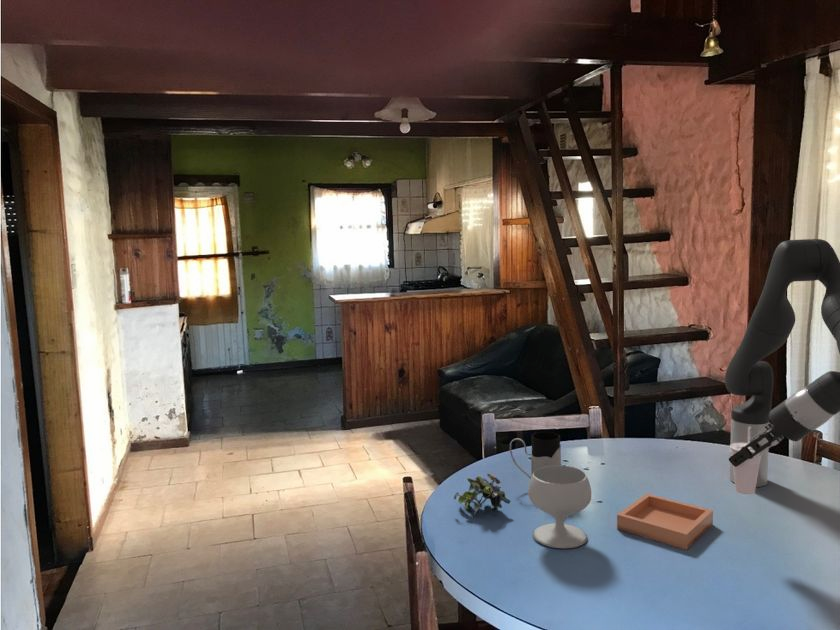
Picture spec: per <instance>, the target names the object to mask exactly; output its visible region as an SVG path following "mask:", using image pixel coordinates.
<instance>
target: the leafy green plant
mask: <svg viewBox="0 0 840 630" xmlns="http://www.w3.org/2000/svg"><path fill="white" fill-rule="evenodd" d="M487 477H488V478H489V479H490V480H491V482H489V481H488V480H487V479H486V478H484V477H481V476H476V477H475V478H474V479H473V478H470V477H469V476H467V477H466V479H467V482H469V488H468V490H467V491H465V492H464V493H463V494H461V495H460V493H459V492H456V493H455V494H454V496H453V500H457V496H458V503H459V504H463V503H464V504H465V511H466V512H467V511H468V509H469V506H470V505H471V503H473V509H474V512H473V515H472V517H475V515H476V513H477V512H478V510H480V508H482V506H483V504H484V503H485V502H486V501H487V500H488V499H489V501H490V503H491V506H492V507H493V508H494V509H496V508H500V509H501V508H502V504H501V502H502V501H503V502H504V503H505V504H507V505H508V504H510V503H511V500H510V499H508V498H507V497H506V492H505V491H504V490H501V488H502V487H501V486H498V485H499V484H502V481H500V479H498V478H497V476H494V475H493V474H490V473H487ZM494 483H496V484H497V485H494ZM472 490H473V491H472ZM479 494H482V496H481V498H480V499H479V500H478V497H477V496H479ZM483 498H484V499H483ZM482 499H483V500H482Z"/></svg>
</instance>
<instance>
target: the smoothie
mask: <svg viewBox="0 0 840 630" xmlns="http://www.w3.org/2000/svg"><path fill="white" fill-rule="evenodd" d="M750 439H751V427H748V443H750V441H749V440H750ZM748 443H733V444H731V443H730V444H729V452H730V451H731V454H732V455H734V454H735V453H737V452H738V451H740V450H741V449H742V447H743V446H746V445H747V444H748ZM748 449H749V450H750V451H751V452H752V453H754V452H755V451H754V450H753V448H752V447H748ZM762 454H763V453H758V454H757V455H755V456H754V457H753V458H752V459H747V460H746V461H744V462H743V463H741V464H740V465H739V466H737V467H734V466H733V471H734V480H735V483H734V487H735V491H736V493H740V494H742V495H754V494H755V493H756V490H757V489H756V488H757V487H756V483H757V477H758V471H759V465H760V460H761V455H762Z"/></svg>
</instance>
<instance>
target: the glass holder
mask: <svg viewBox="0 0 840 630" xmlns="http://www.w3.org/2000/svg"><path fill="white" fill-rule="evenodd" d="M515 441H520V442H521V443H522V445H523V446H524V452H525V455H528V456H530V458H531V459H530V461H531V462H530V464H531V465H530V466H531V468H530V469H531V475H530V474H529V473H527V472H526V471H525V470H524V469H523V468H522V467H521V466H520V465H519V464H518V463H517V462H516V460H515V458H514V456H513V451H512V443H513V442H515ZM561 451H562V444H561V436H560V435H559V433H556V432H552V431H538V432H534V433H532V434H531V453H530V452H527V444H526V443H525V441H524V440H523V439H522V438H518V437H517V438H513V439H512V440H511V441H510V443H509V453H510V454H509V455H510V457H511V459H512V461H513V464H514V465H515V466H516V467H517V468H518V469H519V470H520V471H521V472H523V473H524V475H526V476H527V477H528V478H529V480H530V479H531V476H532V474H533V473H534V471H535V470H536V469H538V468H541V467H544V466H551V465H562V463H561V462H562V461H561V460H562V456H561V455H562V453H561Z"/></svg>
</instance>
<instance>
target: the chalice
mask: <svg viewBox="0 0 840 630" xmlns="http://www.w3.org/2000/svg"><path fill="white" fill-rule="evenodd" d="M530 477H531V479H530V478H529V483H528V491H527V492H528V497H529V500H530V501H531V503H532V504H533V506H534V507H536V508H537V509H539V510H540V511H543V512H544V513H546V514H549V515H551V516H552V517H553V519H554V520H555V523H548V524H542V525H541V526H539V527H537V528H535V530H534V531H533V532H532V536H533V538H534V540H535V541H536V542H537V543H539V544H541V545H543V546H547V547H549V548H555V549H573V548H577V547H580V546H582V545H584V544H586V542H587V541H588V536H587V534H586V533H585V531H584V530H583V529H580V528H579V527H577V526H574V525H570V524H566V523H565V520H566V518H568V517H569V516H571V515H574V514H577V513H579V512H582V511H583V510H584V509H586V508H587V507H588V506H589V505H590V502H591V501H592V488H591V484H590V483H591V482H590V481H589V478H588V477H587V475H586V473H585V472H584V471H583V470H582V469H579V468H577V467H573V466H569V465H568V466H567V465H562V464H561V465H551V466H544V467H541V468H538V469H536V470H535V471H534V473H533V474H532V476H531V475H530Z"/></svg>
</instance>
